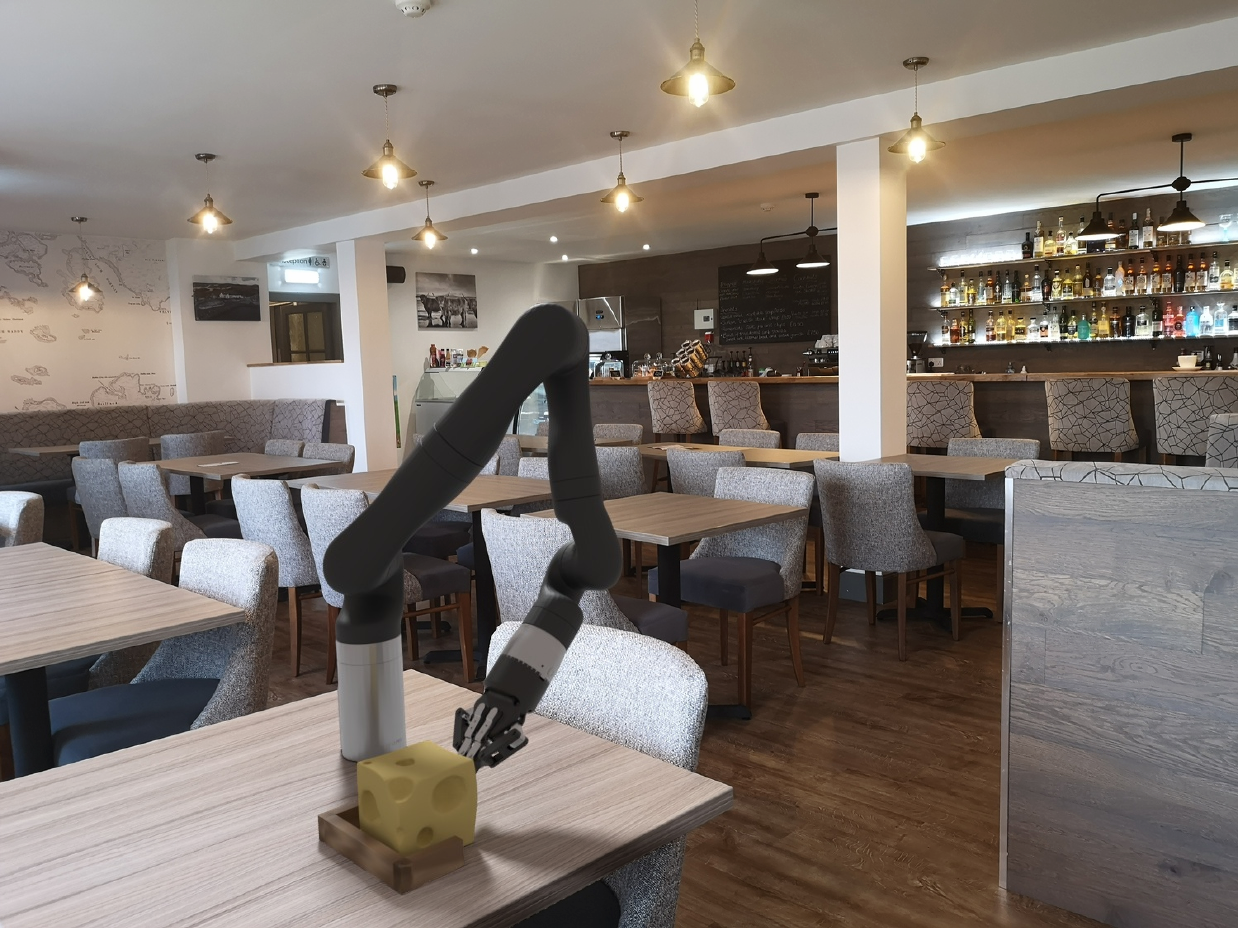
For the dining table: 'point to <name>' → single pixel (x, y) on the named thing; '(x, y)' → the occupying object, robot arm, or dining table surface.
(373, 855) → the walnut cradle
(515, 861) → the dining table surface
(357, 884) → the dining table surface
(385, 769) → the cheese
